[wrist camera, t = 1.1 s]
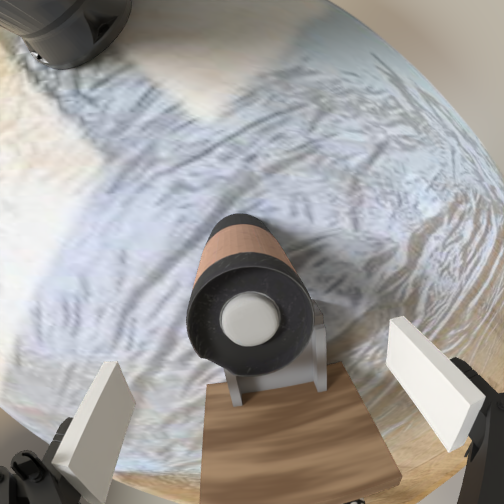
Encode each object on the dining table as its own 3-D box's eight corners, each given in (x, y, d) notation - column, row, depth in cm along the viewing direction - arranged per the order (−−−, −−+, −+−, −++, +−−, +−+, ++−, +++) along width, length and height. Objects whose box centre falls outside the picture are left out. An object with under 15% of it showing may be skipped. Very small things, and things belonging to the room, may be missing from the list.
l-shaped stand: (188, 318, 38) (158, 456, 17) (340, 294, 39) (429, 403, 18) (209, 394, 42) (204, 522, 21) (341, 371, 43) (398, 485, 21)
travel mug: (267, 205, 35) (311, 250, 16) (276, 267, 37) (321, 366, 18) (201, 217, 35) (168, 275, 16) (214, 278, 37) (201, 386, 18)
